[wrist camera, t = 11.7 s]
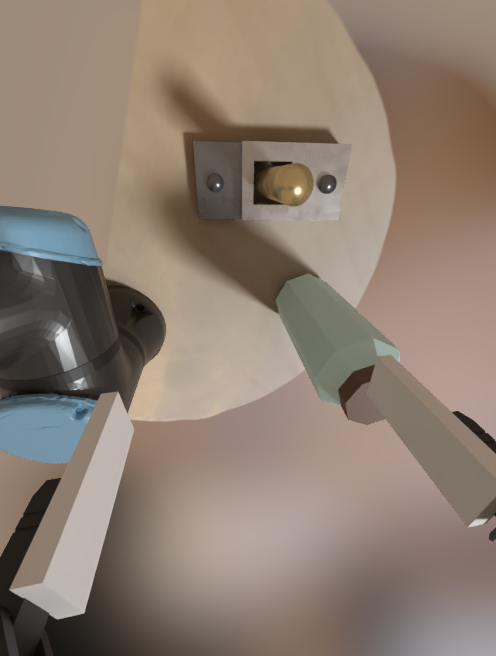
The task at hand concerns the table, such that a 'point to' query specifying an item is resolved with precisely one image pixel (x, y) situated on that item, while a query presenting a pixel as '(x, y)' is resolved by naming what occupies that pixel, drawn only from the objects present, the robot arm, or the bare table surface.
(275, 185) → the pin
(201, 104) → the table surface
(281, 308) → the water bottle
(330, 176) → the chain ends
